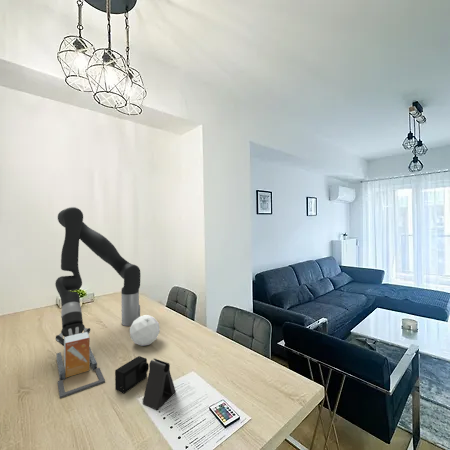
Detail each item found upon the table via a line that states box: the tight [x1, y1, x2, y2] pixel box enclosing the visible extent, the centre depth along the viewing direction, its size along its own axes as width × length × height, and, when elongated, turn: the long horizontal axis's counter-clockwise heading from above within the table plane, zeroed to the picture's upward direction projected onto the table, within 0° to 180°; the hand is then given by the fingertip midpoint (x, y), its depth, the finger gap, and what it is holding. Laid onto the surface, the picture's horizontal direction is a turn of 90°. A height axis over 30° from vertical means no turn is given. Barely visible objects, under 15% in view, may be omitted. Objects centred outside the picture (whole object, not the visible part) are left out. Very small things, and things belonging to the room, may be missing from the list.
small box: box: [63, 332, 91, 379], centre depth 96 cm, size 8×6×13 cm
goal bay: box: [57, 367, 106, 399], centre depth 89 cm, size 14×10×1 cm
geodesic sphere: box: [129, 314, 161, 347], centre depth 117 cm, size 14×14×14 cm
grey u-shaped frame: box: [56, 347, 98, 381], centre depth 101 cm, size 12×18×2 cm, turn 37°
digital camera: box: [114, 355, 150, 394], centre depth 88 cm, size 10×5×7 cm, turn 151°
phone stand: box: [142, 358, 177, 411], centre depth 81 cm, size 9×6×12 cm, turn 152°
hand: (75, 355), depth 99 cm, fingers closed
